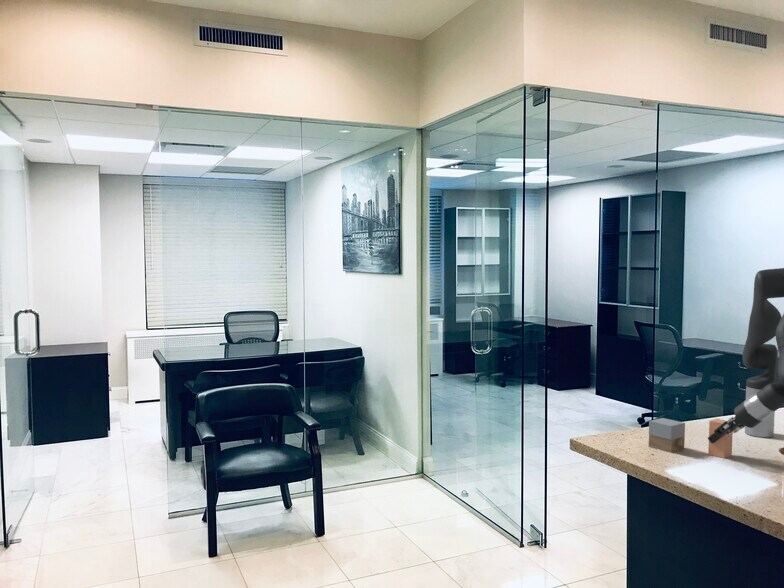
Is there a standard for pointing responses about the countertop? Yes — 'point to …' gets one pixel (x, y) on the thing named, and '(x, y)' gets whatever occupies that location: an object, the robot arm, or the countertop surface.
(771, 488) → the countertop surface
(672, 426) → the tower top slab
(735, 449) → the countertop surface
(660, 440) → the tower bottom slab
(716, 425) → the pillar
